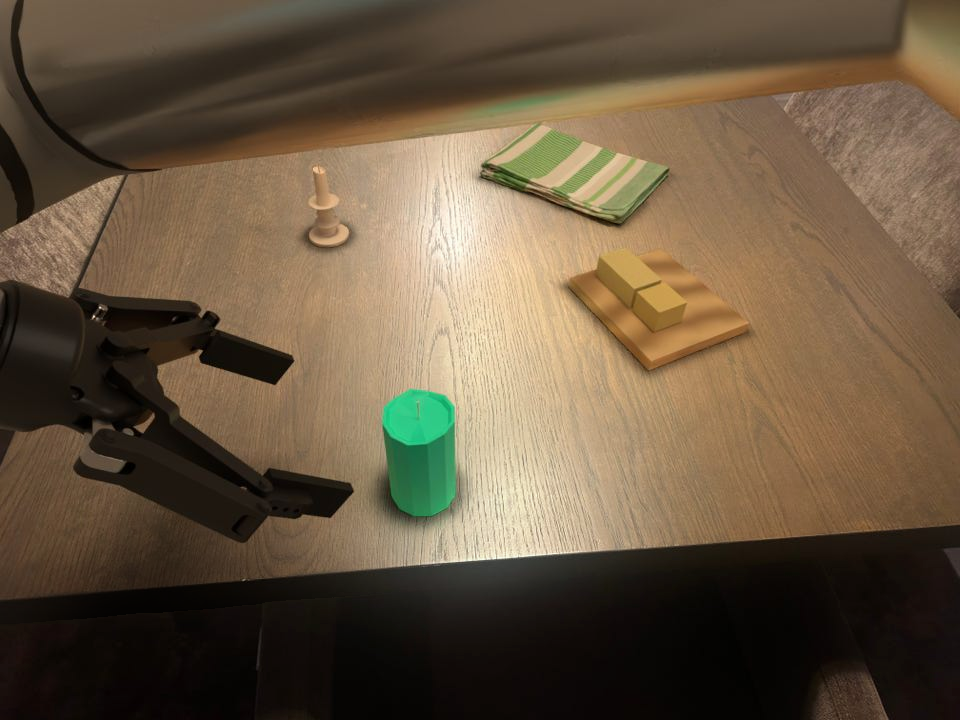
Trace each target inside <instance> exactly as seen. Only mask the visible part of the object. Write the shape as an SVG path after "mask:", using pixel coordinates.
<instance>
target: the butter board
mask: <svg viewBox="0 0 960 720" xmlns="http://www.w3.org/2000/svg"><path fill="white" fill-rule="evenodd" d="M635 256H636V257H637V258H638V259H640V260H641V261H642V262H643V263H644V264H645V265H646V266H647V267H649V268H650V269H651V270H652V271H653V272H654V273H655V274H656V275H657V276H659V277H660V278H661V279H662V281H661V283H664V282H665V283H666V284H667V285H669V286H670V287H671V288H672V289H673V290H674V291H675V292H676V293H678V294H679V295H680V296H681V297H682V298H683V299H684V300H685V301H686V302H687V305H686V308H685V312H684V315H683V318H682V321H681V322H680V323H678V324H675V325H672V326H669V327H667V328H664V329H661V330H659V331H656V332H652V331H651V330H650V329H649V328H648V327H647V326H646V325H645V324H644V323H643V322H642V321H641V320H640V319H639V318H638V317H637V316H636V315H635V314H634V313H633V312H632V311H633V308H630V309H629V308H628V307H627V306H626V305H625V304H624V303H623V302H622V301H621V300H620V299H619V298H618V297H617V296H616V295H615V294H614V293H613V292H612V291H611V290H610V289H609V288H608V287H607V286H606V285H605V284H604V283H603V282H602V281H601V280H600V279H599V278H598V277H597V276H596V270H597V268H596V269H593V270H590V271H587V272H584V273H581V274H578V275H574V276H571V277H570V278H569V284H568V288H569V289H570V290H571V291H572V292H573V293H574V294H575V295H576V296H577V297H578V298H579V299H580V301H581V302H582V303H583V304H585V306H586V307H587V308H588V309H589V310H590V311H591V312H592V313H593V314H594V315H595V317H597V319H598V320H600V321H601V323H602V324H603V325H604V326H605V327H606V328H607V329H608V330H609V331H610V332H611V333H612V334H613V335H614V336H615V337H616V338H617V339H618V340H619V342H620V343H621V344H622V345H623V346H624V347H625V348H626V349H627V350H628V351H629V352H630V353H631V354H632V355H633V356H634V357H635V358H636V359H637V360H638V361H639V362H640V364H641V365H642V366H643V367H644V368H645V369H646V370H647V371H651V370H653V369H656V368H659V367H661V366H664V365H666V364H669V363H671V362H673V361H676V360H679V359H682V358H684V357H686V356H690V355H691V354H695V353H697V352H699V351H701V350H704V349H707V348H710V347H712V346H715V345H717V344H720V343H722V342H724V341H727V340H731V339H732V338H734V337H737V336H739V335H743V334H745V333H746V332H747V329H748V327H749V324H750V322H749V321H747V320H746V319H745V318H744V317H743V316H741V315H740V313H738V312H737V311H736V310H735V309H733V308H732V307H731V306H730V305H729V304H727V302H725V301H724V300H723V299H721V297H720V296H718V295H717V294H716V293H714V292H713V291H712V290H711V289H710V288H708V287H707V286H706V285H705V284H704V283H703V282H702V281H700V279H698V278H697V277H695V276H694V275H693V274H692V273H691V272H690V271H689V270H687V268H686V267H684V266H683V265H682V264H681V263H679V262H678V261H677V260H676V259H675V258H674V257H672V256H671V255H670V254H669V253H667V251H665V250H664V249H663V248H658V249H655V250H652V251H648V252H646V253H643V254H639V255H635Z"/></svg>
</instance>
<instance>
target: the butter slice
mask: <svg viewBox="0 0 960 720" xmlns="http://www.w3.org/2000/svg"><path fill="white" fill-rule="evenodd" d="M686 305H687V302H686V301H685V300H684V299H683V298H682V297H681V296H680V295H679V294H678V293H676V292H675V291H674V290H673V289H672V288H671V287H670V286H669V285H667V284H666V283H665V282H664V283H661V284H658V285H656V286H653V287H650V288H647V289H644V290H641V291H638V292H637V294H636V298H635V303H634V307H633V311H632V312H633V313H634V314H635V315H636V316H637V317H638V318H639V319H640V320H641V321H642V322H643V323H644V324H645V325H646V326H647V327H648V328H649V329H650V330H651V331H652V332H656V331H659V330H661V329H664V328H667V327H669V326H672V325H675V324H678V323H680V322H681V321H682V318H683V315H684V312H685V308H686Z"/></svg>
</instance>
